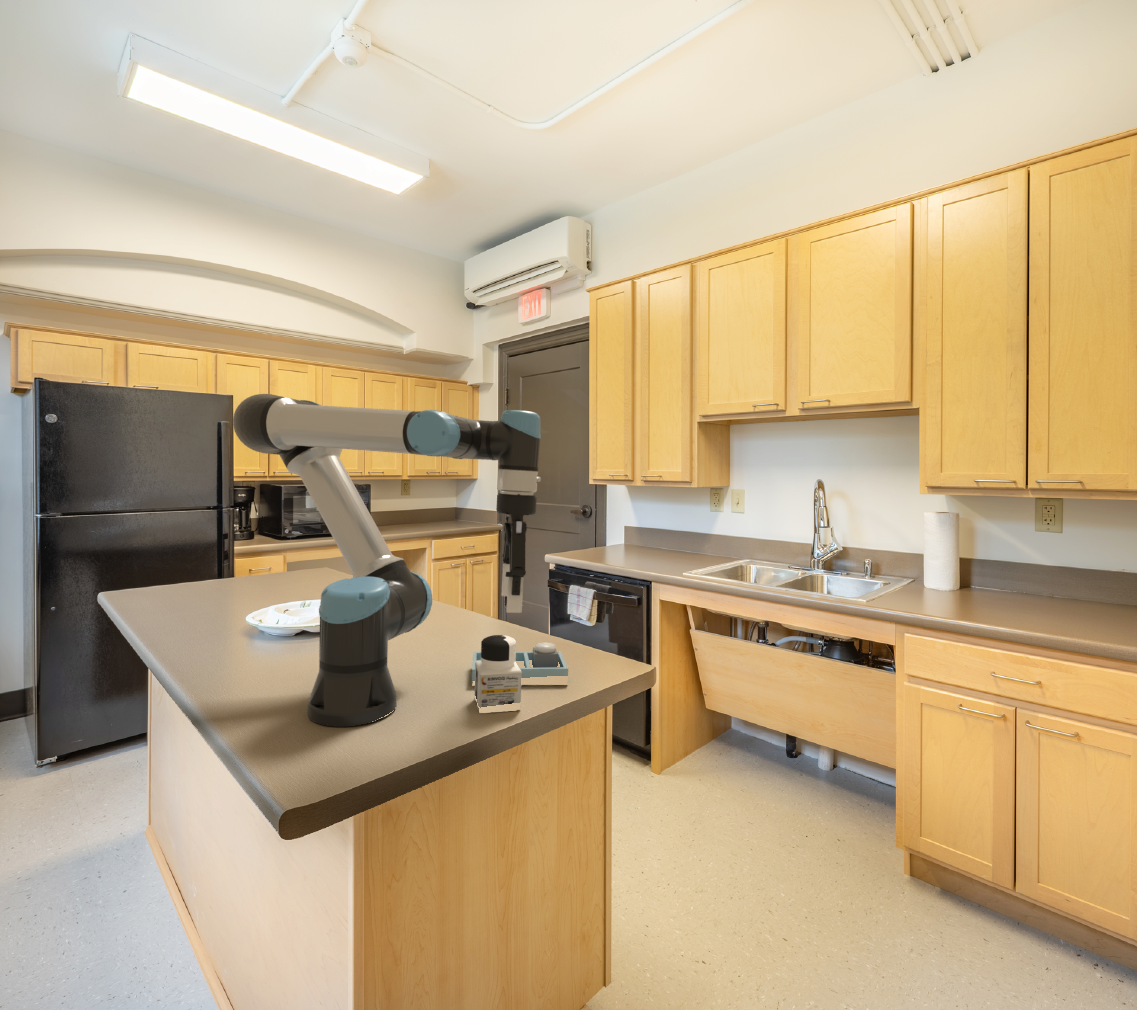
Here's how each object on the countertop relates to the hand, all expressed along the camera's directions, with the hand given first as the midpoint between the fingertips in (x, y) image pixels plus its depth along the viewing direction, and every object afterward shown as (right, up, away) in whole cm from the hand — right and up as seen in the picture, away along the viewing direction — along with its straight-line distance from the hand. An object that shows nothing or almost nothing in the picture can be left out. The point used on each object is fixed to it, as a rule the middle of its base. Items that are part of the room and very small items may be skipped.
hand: (510, 603), depth 114 cm
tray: (0, -18, +15) cm, 24 cm away
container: (-2, -19, -1) cm, 19 cm away
